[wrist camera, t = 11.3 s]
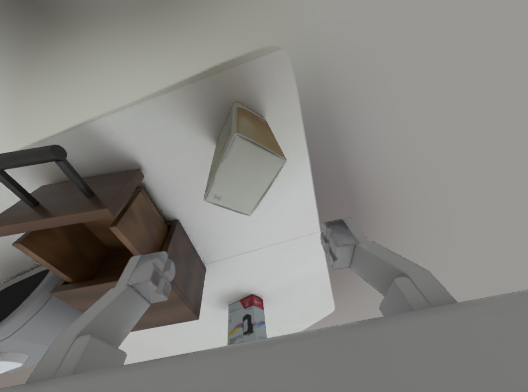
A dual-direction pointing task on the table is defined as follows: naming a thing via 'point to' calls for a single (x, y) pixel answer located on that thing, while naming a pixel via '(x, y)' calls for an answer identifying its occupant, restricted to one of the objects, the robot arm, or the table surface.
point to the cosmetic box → (243, 162)
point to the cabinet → (160, 313)
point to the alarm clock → (30, 318)
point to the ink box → (246, 321)
